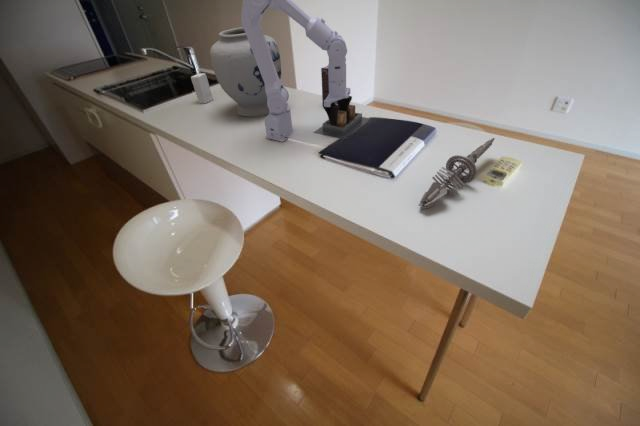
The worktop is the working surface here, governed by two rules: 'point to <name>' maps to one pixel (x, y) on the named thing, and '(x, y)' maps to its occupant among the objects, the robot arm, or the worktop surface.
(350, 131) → the board
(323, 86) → the supplement box
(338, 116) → the oak block
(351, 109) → the brown wooden block
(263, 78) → the robot arm
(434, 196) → the spaceship
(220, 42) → the white ceramic vase
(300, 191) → the worktop surface
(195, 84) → the skincare box
